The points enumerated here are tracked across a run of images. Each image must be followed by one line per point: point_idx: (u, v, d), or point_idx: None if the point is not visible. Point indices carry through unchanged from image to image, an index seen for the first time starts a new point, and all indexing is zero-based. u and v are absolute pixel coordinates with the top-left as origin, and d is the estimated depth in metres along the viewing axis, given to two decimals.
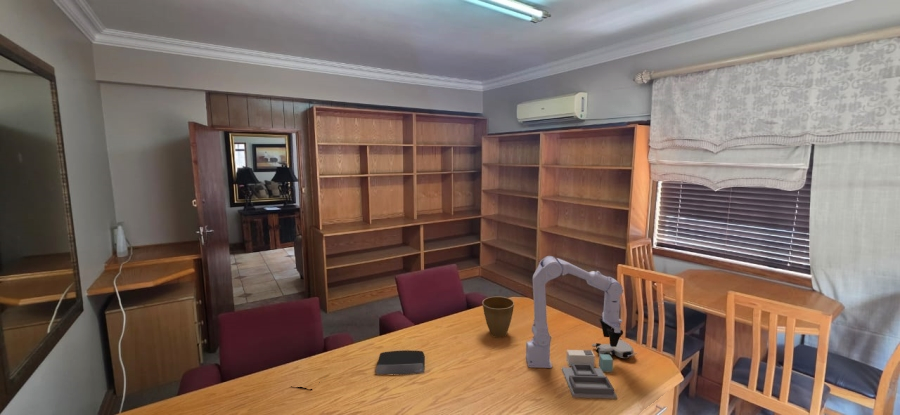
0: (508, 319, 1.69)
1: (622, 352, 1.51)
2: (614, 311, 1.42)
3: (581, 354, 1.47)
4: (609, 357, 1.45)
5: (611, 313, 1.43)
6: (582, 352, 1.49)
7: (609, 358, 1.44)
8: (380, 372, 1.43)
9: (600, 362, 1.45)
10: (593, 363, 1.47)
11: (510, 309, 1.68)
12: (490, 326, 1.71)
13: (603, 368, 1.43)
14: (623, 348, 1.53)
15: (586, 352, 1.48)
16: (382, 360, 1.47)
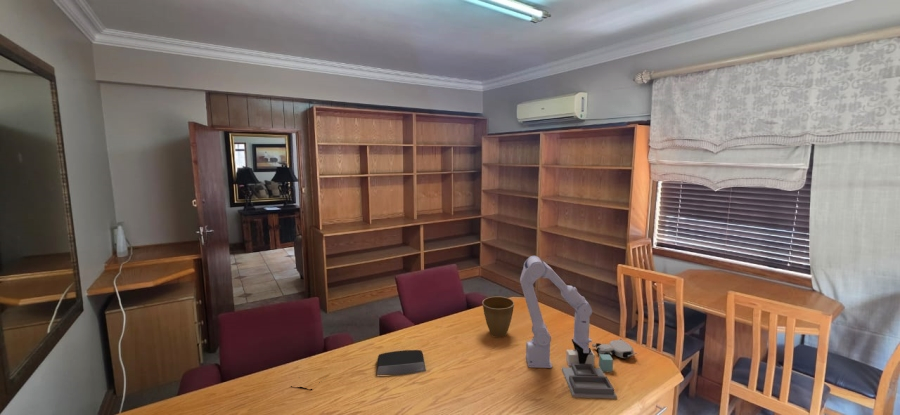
0: (508, 319, 1.69)
1: (622, 352, 1.51)
2: (583, 331, 1.44)
3: None
4: (609, 357, 1.45)
5: (581, 333, 1.45)
6: None
7: (609, 358, 1.44)
8: (382, 373, 1.42)
9: (600, 362, 1.46)
10: (593, 362, 1.47)
11: (510, 309, 1.68)
12: (490, 326, 1.71)
13: (603, 368, 1.43)
14: (623, 348, 1.53)
15: None
16: (383, 361, 1.47)
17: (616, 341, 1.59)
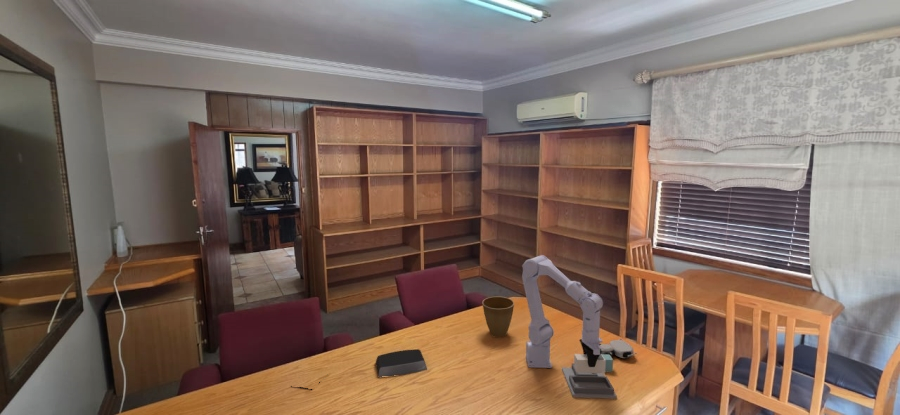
0: (508, 319, 1.69)
1: (622, 352, 1.51)
2: (587, 329, 1.31)
3: None
4: (609, 357, 1.45)
5: (590, 333, 1.30)
6: None
7: (609, 358, 1.44)
8: (383, 374, 1.42)
9: None
10: (604, 368, 1.32)
11: (510, 309, 1.68)
12: (490, 326, 1.71)
13: None
14: (623, 348, 1.53)
15: None
16: (383, 362, 1.46)
17: (616, 341, 1.59)
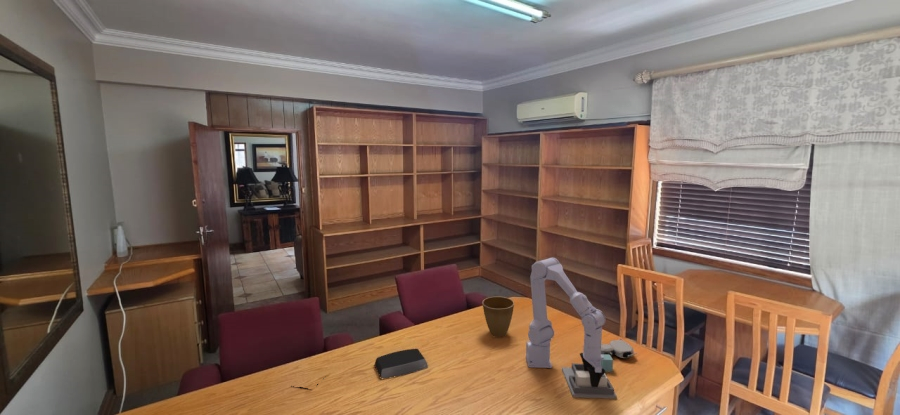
0: (508, 319, 1.69)
1: (622, 352, 1.51)
2: (588, 346, 1.28)
3: None
4: (609, 357, 1.45)
5: (592, 349, 1.28)
6: None
7: (609, 358, 1.44)
8: (386, 376, 1.41)
9: None
10: (605, 386, 1.30)
11: (510, 309, 1.68)
12: (490, 326, 1.71)
13: None
14: (623, 348, 1.53)
15: None
16: (384, 363, 1.45)
17: (616, 341, 1.59)
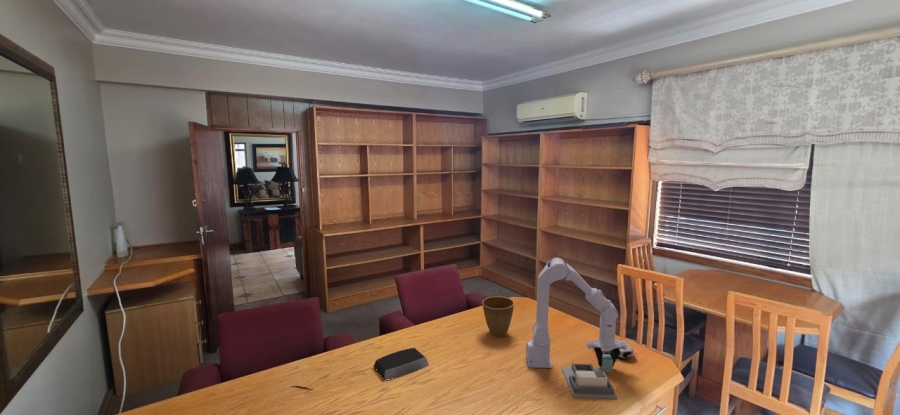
0: (508, 319, 1.69)
1: (622, 352, 1.51)
2: (609, 335, 1.41)
3: (592, 376, 1.30)
4: (609, 357, 1.44)
5: (599, 333, 1.45)
6: (593, 373, 1.32)
7: (609, 358, 1.44)
8: (389, 377, 1.40)
9: None
10: (605, 386, 1.30)
11: (510, 309, 1.68)
12: (490, 326, 1.71)
13: (603, 368, 1.43)
14: None
15: (597, 374, 1.31)
16: (385, 365, 1.44)
17: (616, 341, 1.59)
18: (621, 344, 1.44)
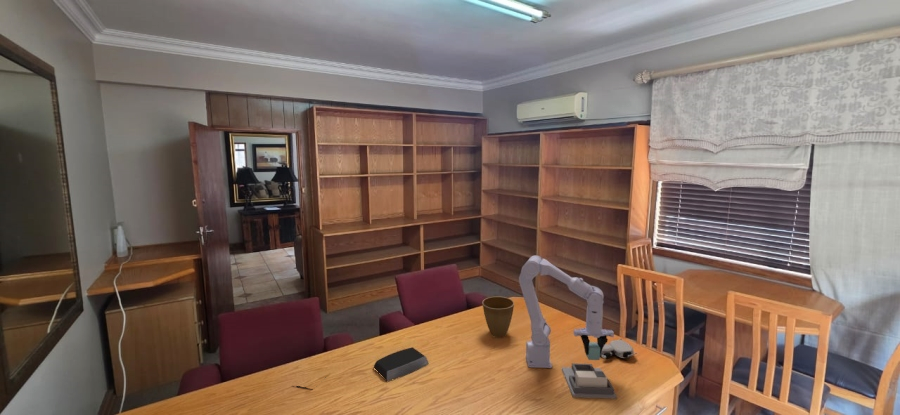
0: (508, 319, 1.69)
1: (622, 352, 1.51)
2: (594, 322, 1.37)
3: (592, 376, 1.30)
4: (596, 345, 1.40)
5: (586, 320, 1.41)
6: (593, 373, 1.32)
7: (596, 346, 1.40)
8: (391, 377, 1.40)
9: None
10: (605, 386, 1.30)
11: (510, 309, 1.68)
12: (490, 326, 1.71)
13: (590, 356, 1.39)
14: (623, 348, 1.53)
15: (597, 374, 1.31)
16: (386, 366, 1.43)
17: (616, 341, 1.59)
18: (608, 331, 1.40)
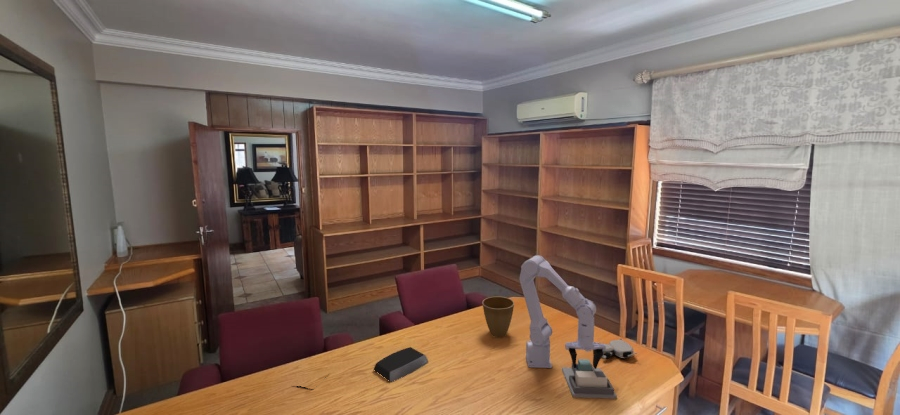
0: (508, 319, 1.69)
1: (622, 352, 1.51)
2: (584, 335, 1.36)
3: (592, 376, 1.30)
4: (588, 362, 1.39)
5: None
6: (593, 373, 1.32)
7: (588, 363, 1.38)
8: (394, 378, 1.39)
9: (579, 367, 1.40)
10: (605, 386, 1.30)
11: (510, 309, 1.68)
12: (490, 326, 1.71)
13: None
14: (623, 348, 1.53)
15: (597, 374, 1.31)
16: (388, 366, 1.43)
17: (616, 341, 1.59)
18: (600, 345, 1.38)
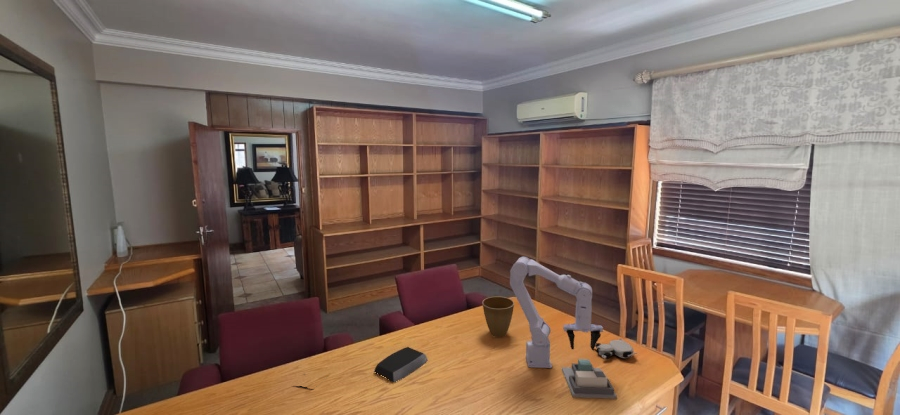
0: (508, 319, 1.69)
1: (622, 352, 1.51)
2: (583, 317, 1.39)
3: (592, 376, 1.30)
4: (588, 362, 1.39)
5: None
6: (593, 373, 1.32)
7: (588, 363, 1.38)
8: (398, 378, 1.39)
9: (579, 367, 1.40)
10: (605, 386, 1.30)
11: (510, 309, 1.68)
12: (490, 326, 1.71)
13: None
14: (623, 348, 1.53)
15: (597, 374, 1.31)
16: (390, 367, 1.42)
17: (616, 341, 1.59)
18: (597, 326, 1.41)
